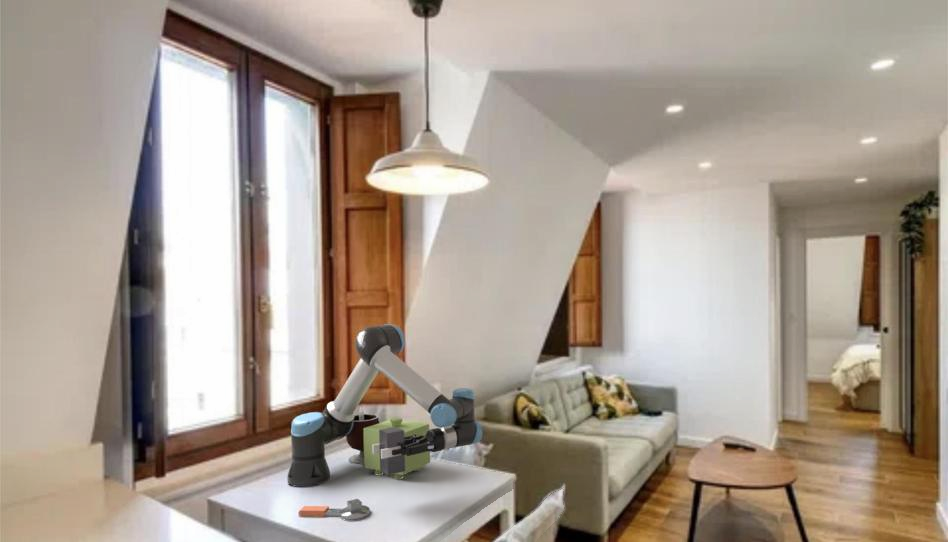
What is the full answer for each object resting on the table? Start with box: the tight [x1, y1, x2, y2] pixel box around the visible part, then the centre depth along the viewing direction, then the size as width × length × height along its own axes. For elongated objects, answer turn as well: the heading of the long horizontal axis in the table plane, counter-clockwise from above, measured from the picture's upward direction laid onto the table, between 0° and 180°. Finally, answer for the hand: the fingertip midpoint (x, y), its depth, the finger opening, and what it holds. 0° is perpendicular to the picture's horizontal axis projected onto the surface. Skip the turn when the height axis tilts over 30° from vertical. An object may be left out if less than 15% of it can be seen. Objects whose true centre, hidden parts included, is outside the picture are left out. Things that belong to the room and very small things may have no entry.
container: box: [363, 417, 431, 479], centre depth 208 cm, size 19×16×20 cm
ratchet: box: [297, 498, 371, 521], centre depth 169 cm, size 22×9×4 cm, turn 83°
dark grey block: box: [379, 427, 405, 476], centre depth 176 cm, size 6×6×13 cm
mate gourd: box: [345, 406, 380, 465], centre depth 226 cm, size 16×14×20 cm
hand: (377, 451), depth 173 cm, fingers closed on dark grey block, 6 cm apart
